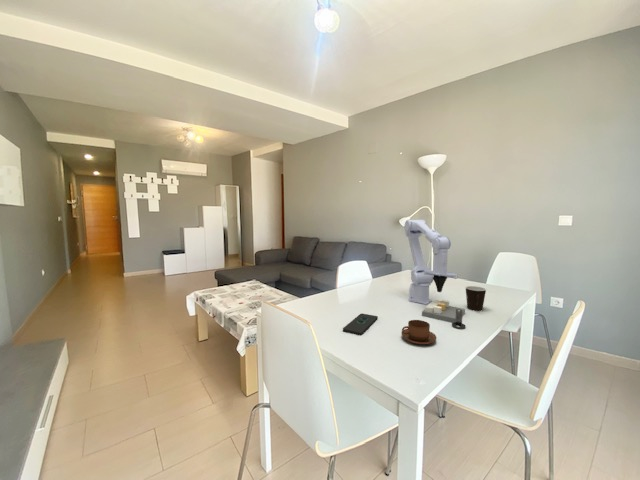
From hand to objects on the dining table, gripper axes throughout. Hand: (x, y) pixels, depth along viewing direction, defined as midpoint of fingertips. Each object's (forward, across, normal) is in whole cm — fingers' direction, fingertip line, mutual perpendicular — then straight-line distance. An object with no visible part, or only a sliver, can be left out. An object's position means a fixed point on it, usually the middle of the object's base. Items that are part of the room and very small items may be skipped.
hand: (439, 291), depth 130 cm
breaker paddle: (+7, +2, -3) cm, 8 cm away
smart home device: (+10, -20, -37) cm, 43 cm away
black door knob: (+9, +12, -14) cm, 21 cm away
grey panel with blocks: (+9, +3, -3) cm, 10 cm away
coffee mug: (+10, +12, +13) cm, 20 cm away
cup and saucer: (+10, +4, -36) cm, 37 cm away
